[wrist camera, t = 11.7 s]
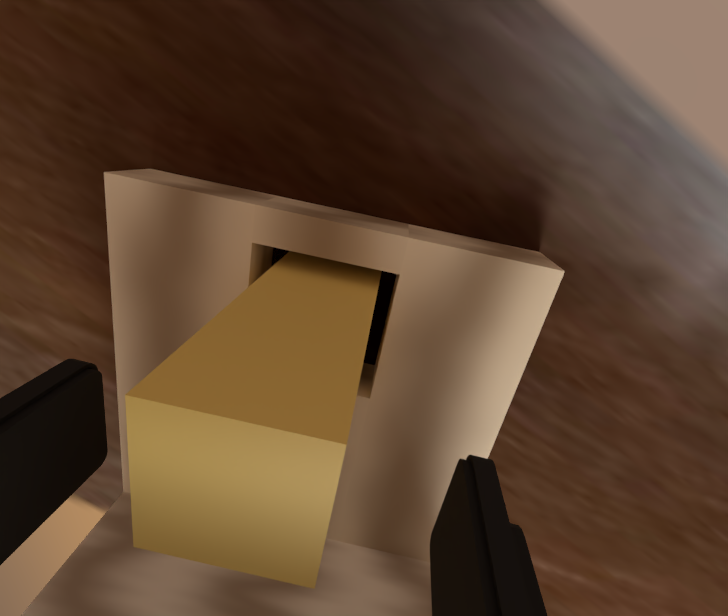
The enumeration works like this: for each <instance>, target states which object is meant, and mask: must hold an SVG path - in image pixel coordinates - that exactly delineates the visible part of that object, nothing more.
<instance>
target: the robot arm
mask: <svg viewBox="0 0 728 616" xmlns="http://www.w3.org/2000/svg"><path fill="white" fill-rule="evenodd" d="M106 456H107V437H106V424H105V410H104V396H103V382H102V374H101V373H100V372H99V371H98V369H97V367H96V365H95V364H92V363H88V362H84V361H80V360H76V359H67V360H65V361H63V362H61V363H60V364H58V365H56V366H55V367H53V368H51V369H49V370H48V371H46V372H44V373H43V374H41V375H39V376H38V377H36V378H34V379H32V380H31V381H29V382H27V383H26V384H24V385H22V386H21V387H19V388H17V389H15V390H14V391H12V392H10V393H9V394H7V395H5V396H4V397H2V398H0V565H1V564H2V563H3V562H4V561H5V560H6V559H7V558H8V557H9V556H10V555H11V554H12V553H13V552H14V551H15V550H16V549H17V548H18V547H19V546H20V545H21V544H22V543H23V542H24V541H25V540H26V539H27V538H28V537H29V536H30V535H31V534H32V533H33V532H34V531H35V530H36V529H37V528H38V527H39V526H40V525H41V524H42V523H43V522H44V521H45V520H46V519H47V518H48V517H49V516H50V515H51V514H53V512H55V511H56V509H58V508H59V507H60V505H62V504H63V503H64V501H66V500H67V499H68V498H69V497H70V496H71V495H72V494H73V493H74V492H75V491H76V490H77V489H78V488H79V487H80V486H81V485H82V484H83V483H84V482H85V481H86V480H87V479H88V478H89V477H90V476H91V475H92V474H93V473H94V472H95V471H96V470H97V469H98V468H99V467H100V466H101V465H102V464H103V462H104V460H105V458H106ZM430 574H431V601H432V616H547V613H546V609H545V606H544V603H543V599H542V596H541V592H540V589H539V585H538V582H537V578H536V575H535V571H534V568H533V564H532V561H531V557H530V554H529V550H528V547H527V543H526V540H525V536H524V534H523V531H522V529H521V528H520V527H519V525H515V524H511V523H510V522H509V519H508V515H507V511H506V507H505V503H504V499H503V495H502V491H501V487H500V484H499V480H498V476H497V472H496V468H495V464H494V462H493V461H492V460H491V459H486V458H482V457H478V456H474V455H468V456H467V458H466V460H465V459H459V461H458V463H457V466H456V468H455V471H454V474H453V476H452V479H451V482H450V485H449V487H448V490H447V493H446V495H445V498H444V501H443V503H442V506H441V509H440V511H439V514H438V517H437V519H436V522H435V525H434V528H433V530H432V533H431V538H430Z"/></svg>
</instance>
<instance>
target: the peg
mask: <svg viewBox="0 0 728 616" xmlns="http://www.w3.org/2000/svg"><path fill="white" fill-rule="evenodd" d="M381 272H382V271H381V270H376V269H371V268H367V267H362V266H357V265H353V264H348V263H344V262H339V261H334V260H330V259H325V258H321V257H316V256H311V255H307V254H302V253H298V252H293V251H289V252H288V253H287V254H286V255H285V256H284V257H282V258H281V259H280V260H279V261H278V262H277V263H276V264H274V265H273V266H272V267H271V268H270V269H269V270H267V271H266V272H265V273H264V274H263V275H262V276H261V277H259V278H258V279H257V280H256V281H255V282H254V283H253V284H251V285H250V286H249V287H248V288H247V289H246V290H245V291H243V292H242V293H241V294H240V295H239V296H238V297H237V298H235V299H234V300H233V301H232V302H231V303H230V304H229V305H227V306H226V307H225V308H224V309H223V310H222V311H221V312H219V313H218V314H217V315H216V316H215V317H214V318H213V319H211V320H210V321H209V322H208V323H207V324H206V325H204V326H203V327H202V328H201V329H200V330H199V331H198V332H196V333H195V334H194V335H193V336H192V337H191V338H190V339H188V340H187V341H186V342H185V343H184V344H183V345H182V346H180V347H179V348H178V349H177V350H176V351H175V352H174V353H172V354H171V355H170V356H169V357H168V358H167V359H166V360H164V361H163V362H162V363H161V364H160V365H159V366H158V367H156V368H155V369H154V370H153V371H152V372H151V373H150V374H148V375H147V376H146V377H145V378H144V379H143V380H141V381H140V382H139V383H138V384H137V385H136V386H135V387H133V388H132V389H131V390H130V391H129V392H128V393H127V394H125V405H126V423H127V441H128V458H129V476H130V494H131V512H132V530H133V547H136V548H140V549H145V550H149V551H153V552H158V553H162V554H166V555H170V556H175V557H179V558H183V559H188V560H192V561H196V562H201V563H205V564H209V565H214V566H218V567H222V568H226V569H231V570H235V571H239V572H244V573H248V574H252V575H257V576H261V577H265V578H270V579H274V580H278V581H282V582H287V583H291V584H295V585H300V586H304V587H308V588H313V589H315V585H316V580H317V576H318V571H319V567H320V562H321V558H322V553H323V549H324V544H325V540H326V535H327V531H328V526H329V522H330V517H331V513H332V508H333V504H334V500H335V495H336V491H337V486H338V482H339V477H340V473H341V468H342V464H343V459H344V455H345V450H346V446H347V441H348V436H349V431H350V426H351V421H352V416H353V411H354V406H355V401H356V396H357V391H358V386H359V381H360V376H361V371H362V367H363V362H364V357H365V352H366V347H367V342H368V337H369V332H370V327H371V322H372V317H373V312H374V307H375V302H376V297H377V292H378V287H379V282H380V277H381Z"/></svg>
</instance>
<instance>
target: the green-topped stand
mask: <svg viewBox="0 0 728 616" xmlns="http://www.w3.org/2000/svg"><path fill="white" fill-rule="evenodd" d="M104 184H105V200H106V217H107V233H108V249H109V265H110V281H111V297H112V314H113V330H114V346H115V362H116V378H117V394H118V410H119V427H120V443H121V459H122V475H123V491H124V492H123V493H122V494H121V495H120V496H119V498H118V499H117V500H116V501H115V502H114V504H113V505H112V506H111V507H110V508H109V510H108V511H107V512H106V513H105V515H104V516H103V517H102V518H101V520H100V521H99V522H98V523H97V524H96V525H95V527H94V528H93V529H92V530H91V531H90V533H89V534H88V535H87V536H86V538H85V539H84V540H83V541H82V542H81V544H80V545H79V546H78V547H77V549H76V550H75V551H74V552H73V553H72V554H71V556H70V557H69V558H68V559H67V561H66V562H65V563H64V564H63V565H62V567H61V568H60V569H59V570H58V571H57V573H56V574H55V575H54V576H53V578H52V579H51V580H50V581H49V582H48V583H47V585H46V586H45V587H44V588H43V590H42V591H41V592H40V593H39V595H38V596H37V597H36V598H35V599H34V600H33V602H32V603H31V604H30V605H29V606H28V608H27V609H26V610H25V611H24V612H23V614H22V615H21V616H432V601H431V574H430V538H431V533H432V530H433V528H434V525H435V522H436V519H437V517H438V514H439V511H440V509H441V506H442V503H443V501H444V498H445V495H446V493H447V490H448V487H449V485H450V482H451V479H452V476H453V474H454V471H455V468H456V466H457V463H458V461H459V459H465V460H466V458H467V456H468V455H474V456H478V457H482V458H486V459H488V456H489V454H490V452H491V449H492V447H493V444H494V442H495V439H496V437H497V435H498V432H499V430H500V427H501V425H502V422H503V420H504V418H505V415H506V413H507V410H508V408H509V405H510V403H511V401H512V398H513V396H514V393H515V391H516V388H517V386H518V384H519V381H520V379H521V376H522V374H523V372H524V369H525V367H526V364H527V362H528V359H529V357H530V355H531V352H532V350H533V347H534V345H535V342H536V340H537V338H538V335H539V333H540V330H541V328H542V325H543V323H544V321H545V318H546V316H547V313H548V311H549V308H550V306H551V304H552V301H553V299H554V296H555V294H556V291H557V289H558V287H559V284H560V282H561V279H562V277H563V274H564V272H565V271H564V270H562V269H561V268H560V267H559V266H557V265H556V264H555V263H553V262H552V261H551V260H549V259H548V258H547V257H546V256H544V255H543V254H542V253H540V252H537V251H532V250H528V249H523V248H518V247H514V246H509V245H504V244H500V243H495V242H490V241H486V240H481V239H476V238H472V237H467V236H462V235H458V234H453V233H448V232H444V231H439V230H434V229H430V228H425V227H420V226H416V225H411V224H406V223H402V222H397V221H392V220H388V219H383V218H378V217H374V216H369V215H364V214H360V213H355V212H351V211H346V210H341V209H337V208H332V207H327V206H323V205H318V204H313V203H309V202H304V201H299V200H295V199H290V198H285V197H281V196H276V195H271V194H267V193H262V192H257V191H253V190H248V189H243V188H239V187H234V186H229V185H225V184H220V183H215V182H211V181H206V180H201V179H197V178H192V177H187V176H183V175H178V174H173V173H169V172H164V171H159V170H155V169H138V170H125V171H111V172H104ZM273 247H275V248H279V249H284V250H288V251H293V252H298V253H302V254H307V255H311V256H316V257H321V258H325V259H330V260H334V261H339V262H344V263H348V264H353V265H357V266H362V267H367V268H371V269H376V270H381V271H385V272H390V273H394V274H396V278H395V282H394V287H393V291H392V295H391V299H390V303H389V308H388V312H387V316H386V320H385V325H384V329H383V333H382V337H381V341H380V346H379V350H378V354H377V358H376V362H375V365H372V364H367V363H363V367H362V371H361V376H360V381H359V386H358V391H357V396H356V401H355V406H354V411H353V416H352V421H351V426H350V431H349V436H348V441H347V446H346V450H345V455H344V459H343V464H342V468H341V473H340V477H339V482H338V486H337V491H336V495H335V500H334V504H333V508H332V513H331V517H330V522H329V526H328V531H327V535H326V540H325V544H324V549H323V553H322V558H321V562H320V567H319V571H318V576H317V580H316V585H315V589H313V588H308V587H304V586H300V585H295V584H291V583H287V582H282V581H278V580H274V579H270V578H265V577H261V576H257V575H252V574H248V573H244V572H239V571H235V570H231V569H226V568H222V567H218V566H214V565H209V564H205V563H201V562H196V561H192V560H188V559H183V558H179V557H175V556H170V555H166V554H162V553H158V552H153V551H149V550H145V549H140V548H136V547H133V530H132V512H131V494H130V476H129V458H128V441H127V423H126V405H125V394H127V393H128V392H129V391H130V390H131V389H132V388H133V387H135V386H136V385H137V384H138V383H139V382H140V381H141V380H143V379H144V378H145V377H146V376H147V375H148V374H150V373H151V372H152V371H153V370H154V369H155V368H156V367H158V366H159V365H160V364H161V363H162V362H163V361H164V360H166V359H167V358H168V357H169V356H170V355H171V354H172V353H174V352H175V351H176V350H177V349H178V348H179V347H180V346H182V345H183V344H184V343H185V342H186V341H187V340H188V339H190V338H191V337H192V336H193V335H194V334H195V333H196V332H198V331H199V330H200V329H201V328H202V327H203V326H204V325H206V324H207V323H208V322H209V321H210V320H211V319H213V318H214V317H215V316H216V315H217V314H218V313H219V312H221V311H222V310H223V309H224V308H225V307H226V306H227V305H229V304H230V303H231V302H232V301H233V300H234V299H235V298H237V297H238V296H239V295H240V294H241V293H242V292H243V291H245V290H246V289H247V288H248V287H249V286H250V285H251V284H253V283H254V282H255V281H256V280H257V279H258V278H259V277H261V276H262V275H263V274H264V273H265V272H266V271H267V270H269V269H270V268H271V264H272V254H273Z"/></svg>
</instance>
